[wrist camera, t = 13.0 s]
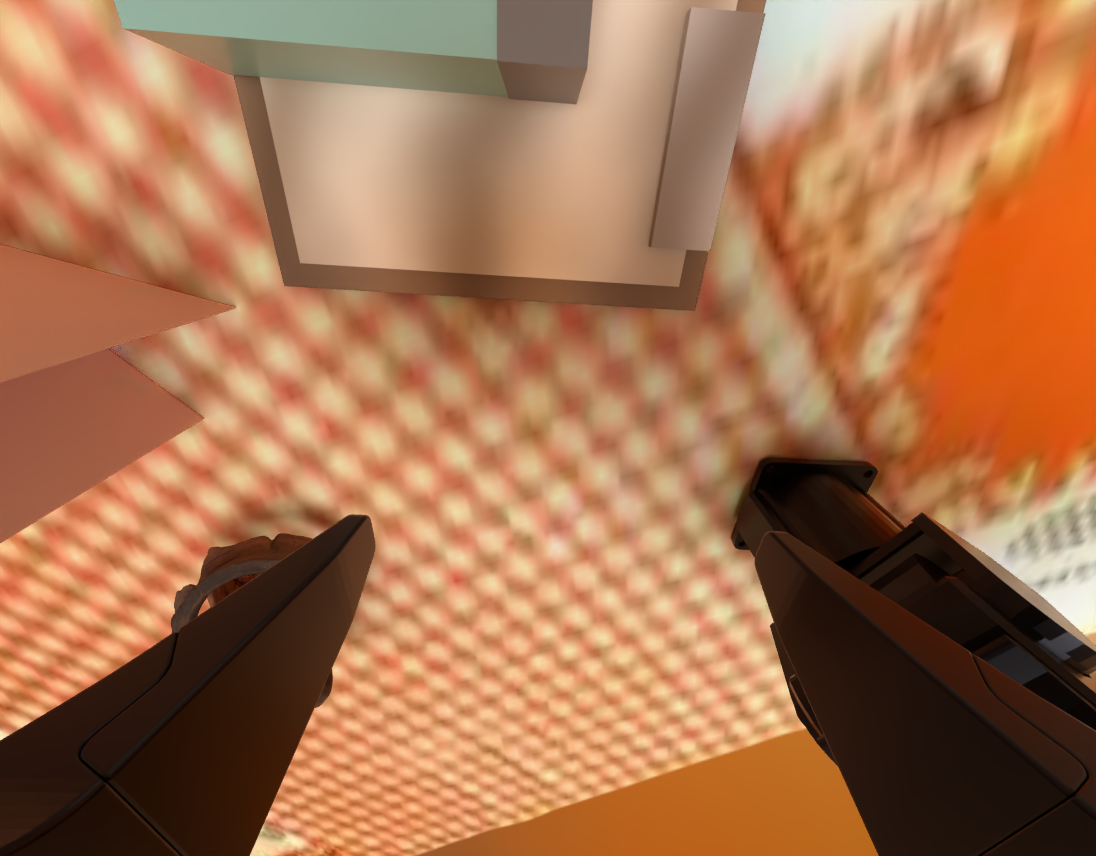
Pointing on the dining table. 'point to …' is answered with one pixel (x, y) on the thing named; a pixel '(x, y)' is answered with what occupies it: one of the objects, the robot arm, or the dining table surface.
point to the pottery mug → (229, 566)
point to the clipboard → (517, 170)
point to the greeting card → (77, 380)
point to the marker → (383, 42)
